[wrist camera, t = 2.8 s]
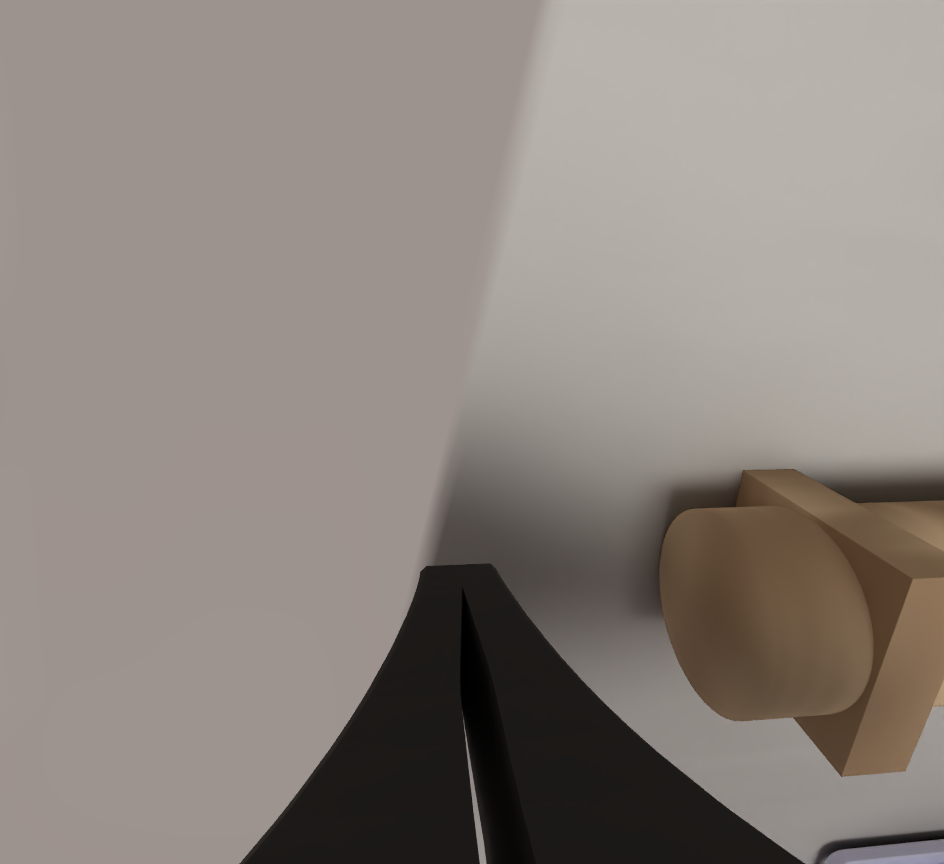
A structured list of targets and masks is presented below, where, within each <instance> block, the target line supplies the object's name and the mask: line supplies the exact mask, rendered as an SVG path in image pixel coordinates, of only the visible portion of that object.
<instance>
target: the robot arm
mask: <svg viewBox="0 0 944 864" xmlns="http://www.w3.org/2000/svg"><path fill="white" fill-rule="evenodd" d="M462 711H463V713H462ZM463 718H464V723H463ZM464 724H465V730H466V736H467V742H468V748H469V754H470V761H471V767H472V773H473V779H474V785H475V791H476V797H477V803H478V809H479V815H480V821H481V827H482V833H483V839H484V846H485V854H486V862H487V864H805V863H803V862H802V861H800V860H799V859H797V858H796V857H794V856H793V855H792V854H790V853H789V852H787V851H786V850H785V849H783V848H782V847H780V846H779V845H778V844H776V843H775V842H773V841H772V840H771V839H769V838H768V837H767V836H765V835H764V834H762V833H761V832H760V831H758V830H757V829H755V828H754V827H753V826H751V825H750V824H748V823H747V822H746V821H744V820H743V819H742V818H740V817H739V816H737V815H736V814H735V813H733V812H732V811H731V810H729V809H728V808H727V807H725V806H724V805H723V804H721V803H720V802H719V801H718V800H716V799H715V798H714V797H713V796H711V795H710V794H709V793H708V792H706V791H705V790H704V789H703V788H701V787H700V786H699V785H698V784H696V783H695V782H694V781H693V780H691V779H690V778H689V777H688V776H686V775H685V774H684V773H683V772H681V771H680V770H679V769H678V768H677V767H675V766H674V765H673V764H672V763H670V762H669V761H668V760H667V759H665V758H664V757H663V756H662V755H660V754H659V753H658V752H657V751H656V750H655V749H653V748H652V747H651V746H650V745H649V744H648V743H647V742H646V741H644V740H643V739H642V738H641V737H640V736H639V735H638V734H637V733H635V732H634V731H633V730H632V729H631V728H630V727H629V726H628V725H627V724H626V723H625V722H623V721H622V720H621V719H620V718H619V717H618V716H617V715H616V714H615V713H614V712H613V711H612V710H611V709H610V708H609V707H608V706H607V705H606V704H605V703H604V702H603V701H602V700H601V699H600V698H599V697H598V696H597V695H596V694H595V693H594V692H593V691H592V690H591V689H590V688H589V687H588V686H587V685H586V684H585V683H584V682H583V681H582V680H581V679H580V678H579V676H578V675H577V674H576V673H575V672H574V671H573V670H572V669H571V668H570V666H569V665H568V664H567V663H566V662H565V661H564V660H563V659H562V658H561V656H560V655H559V654H558V653H557V652H556V651H555V649H554V648H553V647H552V646H551V645H550V643H549V642H548V641H547V640H546V638H545V637H544V636H543V635H542V633H541V632H540V631H539V630H538V628H537V627H536V626H535V625H534V623H533V622H532V621H531V620H530V618H529V617H528V616H527V614H526V613H525V612H524V610H523V609H522V608H521V606H520V605H519V603H518V602H517V601H516V599H515V598H514V596H513V595H512V594H511V592H510V591H509V589H508V588H507V586H506V585H505V583H504V581H503V580H502V578H501V577H500V575H499V573H498V572H497V570H496V568H494V567H493V566H492V565H491V564H467V565H444V566H426V567H425V568H424V569H423V570H422V571H421V572H420V578H419V582H418V586H417V589H416V592H415V595H414V598H413V601H412V603H411V606H410V608H409V611H408V613H407V616H406V618H405V620H404V622H403V624H402V626H401V629H400V631H399V633H398V635H397V637H396V639H395V642H394V644H393V646H392V648H391V650H390V652H389V653H388V656H387V657H386V659H385V661H384V662H383V664H382V666H381V668H380V670H379V671H378V673H377V675H376V677H375V679H374V681H373V682H372V684H371V686H370V688H369V689H368V691H367V693H366V694H365V696H364V698H363V699H362V701H361V703H360V704H359V706H358V707H357V709H356V711H355V712H354V714H353V715H352V717H351V718H350V720H349V722H348V723H347V725H346V726H345V727H344V729H343V731H342V732H341V734H340V735H339V736H338V738H337V739H336V741H335V743H334V744H333V745H332V747H331V748H330V750H329V751H328V753H327V754H326V755H325V757H324V758H323V759H322V761H321V762H320V764H319V765H318V766H317V767H316V769H315V770H314V771H313V773H312V774H311V776H310V777H309V778H308V780H307V781H306V782H305V784H304V785H303V787H302V788H301V789H300V791H299V792H298V793H297V794H296V796H295V797H294V798H293V800H292V801H291V802H290V804H289V805H288V806H287V807H286V809H285V810H284V811H283V813H282V814H281V815H280V816H279V817H278V819H277V820H276V821H275V823H274V824H273V825H272V826H271V827H270V829H269V830H268V831H267V832H266V833H265V834H264V835H263V837H262V838H261V839H260V840H259V841H258V843H257V844H256V845H255V846H254V847H253V849H252V850H251V851H250V852H249V853H248V855H247V856H246V857H245V858H244V859H243V860H242V862H241V863H240V864H480V863H479V854H478V846H477V838H476V830H475V821H474V813H473V805H472V796H471V787H470V778H469V769H468V760H467V751H466V742H465V732H464ZM825 864H944V839H939V840H929V841H919V842H910V843H900V844H890V845H880V846H871V847H861V848H851V849H842V850H838V851H836V852H834V853H832V854H831V855H829V856H828V858H827V859H826V861H825Z"/></svg>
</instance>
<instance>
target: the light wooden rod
mask: <svg viewBox="0 0 944 864" xmlns="http://www.w3.org/2000/svg"><path fill="white" fill-rule="evenodd" d="M659 584H660V596H661V604H662V609H663V615H664V619H665V624H666V628H667V631H668V635H669V638H670V641H671V644H672V647H673V649H674V652H675V654H676V657H677V659H678V661H679V664H680V666H681V668H682V670H683V672H684V674H685V675H686V677H687V679H688V680H689V682H690V684H691V685H692V687H693V688H694V690H695V691H696V693H697V694H698V695H699V696H700V697H701V699H702V700H703V701H704V702H705V703H706V704H707V705H708V706H709V707H710V708H711V709H712V710H714V711H715V712H716V713H718V714H719V715H721V716H723V717H725V718H727V719H730V720H733V721H751V720H764V719H777V718H790V717H793V718H794V719H795V720H796V722H797V723H798V724H799V725H800V727H801V728H802V729H803V730H804V731H805V733H806V734H807V735H808V736H809V738H810V739H811V740H812V741H813V742H814V744H815V745H816V746H817V747H818V749H819V750H820V751H821V752H822V754H823V755H824V756H825V757H826V758H827V760H828V761H829V762H830V763H831V765H832V766H833V767H834V768H835V769H836V771H837V772H838V773H839V774H840V776H841V777H844V776H855V775H867V774H878V773H889V772H901V771H906V768H907V766H908V764H909V761H910V759H911V757H912V754H913V752H914V749H915V747H916V745H917V742H918V740H919V737H920V735H921V733H922V730H923V728H924V725H925V723H926V721H927V718H928V716H929V714H930V711H931V709H932V707H936V706H944V500H940V501H910V502H879V503H855V502H853V501H851V500H849V499H847V498H845V497H844V496H842V495H840V494H838V493H836V492H835V491H833V490H831V489H829V488H827V487H825V486H824V485H822V484H820V483H818V482H816V481H814V480H813V479H811V478H809V477H807V476H805V475H804V474H802V473H800V472H798V471H796V470H794V469H776V470H743V473H742V478H741V483H740V488H739V492H738V497H737V502H736V507H727V508H697V509H689V510H686V511H684V512H682V513H681V514H679V515H678V516H677V517H676V518H675V519H674V521H673V522H672V523H671V525H670V527H669V528H668V531H667V533H666V535H665V538H664V542H663V545H662V550H661V557H660V568H659Z"/></svg>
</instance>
